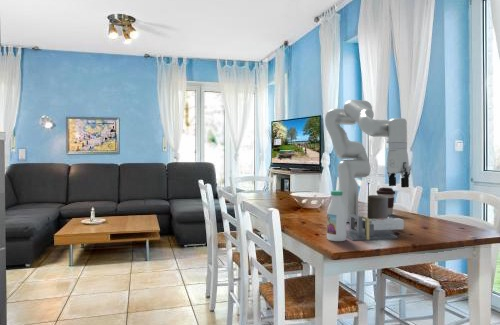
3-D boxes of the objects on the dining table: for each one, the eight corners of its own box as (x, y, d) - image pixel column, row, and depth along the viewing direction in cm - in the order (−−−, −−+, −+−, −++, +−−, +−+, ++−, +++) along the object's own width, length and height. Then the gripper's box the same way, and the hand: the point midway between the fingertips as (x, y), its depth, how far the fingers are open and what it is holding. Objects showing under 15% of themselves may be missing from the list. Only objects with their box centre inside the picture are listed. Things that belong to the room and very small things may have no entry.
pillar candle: (365, 224, 181) (366, 194, 181) (369, 220, 190) (369, 192, 189) (386, 226, 177) (387, 195, 176) (389, 222, 186) (389, 193, 185)
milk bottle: (343, 237, 155) (343, 189, 154) (348, 241, 147) (348, 191, 147) (324, 237, 155) (325, 189, 154) (329, 241, 147) (329, 192, 146)
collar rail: (341, 233, 161) (341, 212, 161) (383, 232, 164) (383, 211, 163) (352, 240, 149) (352, 218, 149) (397, 238, 152) (398, 216, 151)
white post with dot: (368, 228, 158) (368, 218, 158) (398, 227, 160) (398, 217, 160) (372, 230, 154) (372, 220, 154) (403, 229, 156) (403, 219, 156)
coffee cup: (372, 213, 212) (372, 187, 211) (385, 212, 216) (385, 186, 216) (385, 216, 203) (385, 189, 202) (398, 215, 207) (399, 188, 207)
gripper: (379, 148, 167) (380, 185, 167) (400, 146, 150) (401, 188, 150) (394, 147, 168) (395, 185, 168) (417, 146, 151) (418, 187, 151)
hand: (398, 186), depth 159 cm, fingers open, 9 cm apart
